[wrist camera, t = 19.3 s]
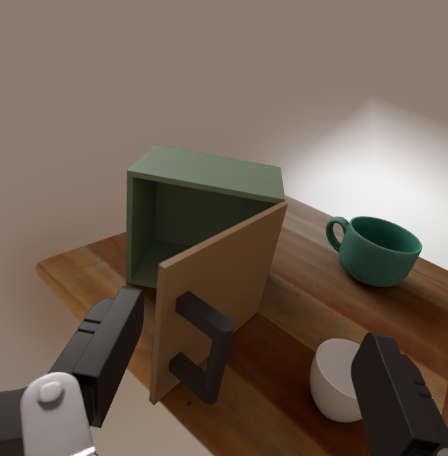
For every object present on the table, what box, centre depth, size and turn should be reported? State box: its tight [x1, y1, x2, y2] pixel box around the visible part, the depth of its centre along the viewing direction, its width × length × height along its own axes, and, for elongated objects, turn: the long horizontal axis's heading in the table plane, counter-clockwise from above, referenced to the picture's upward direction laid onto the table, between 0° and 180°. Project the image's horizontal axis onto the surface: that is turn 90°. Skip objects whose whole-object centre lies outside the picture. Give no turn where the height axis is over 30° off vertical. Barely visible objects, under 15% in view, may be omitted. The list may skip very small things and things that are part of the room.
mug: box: [326, 217, 422, 287], centre depth 63 cm, size 17×13×10 cm
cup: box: [309, 339, 362, 423], centre depth 36 cm, size 8×10×7 cm
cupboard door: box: [149, 202, 288, 405], centre depth 37 cm, size 7×21×18 cm, turn 141°
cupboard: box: [126, 145, 285, 289], centre depth 52 cm, size 13×21×19 cm, turn 84°
